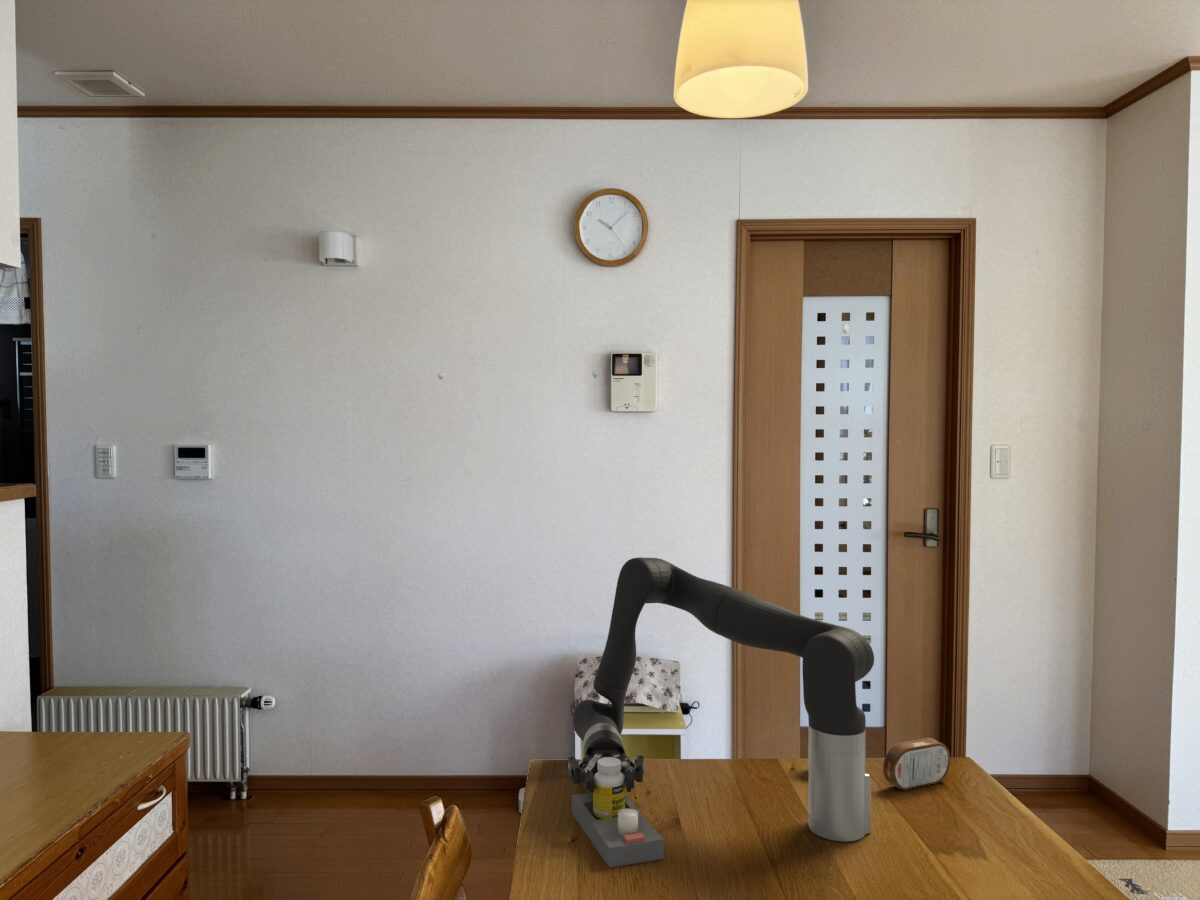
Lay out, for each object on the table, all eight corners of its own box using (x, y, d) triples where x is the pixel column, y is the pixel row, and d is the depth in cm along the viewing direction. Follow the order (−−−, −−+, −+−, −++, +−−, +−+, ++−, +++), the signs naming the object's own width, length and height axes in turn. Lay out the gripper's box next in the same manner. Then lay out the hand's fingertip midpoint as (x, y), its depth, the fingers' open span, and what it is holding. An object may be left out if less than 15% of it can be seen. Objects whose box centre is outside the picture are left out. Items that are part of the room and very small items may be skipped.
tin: (940, 776, 157) (940, 733, 157) (953, 782, 154) (953, 738, 154) (881, 788, 151) (881, 744, 151) (893, 795, 148) (893, 749, 148)
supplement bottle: (614, 829, 131) (614, 769, 131) (587, 821, 134) (586, 763, 134) (631, 816, 136) (630, 759, 136) (604, 809, 138) (603, 752, 138)
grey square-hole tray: (619, 805, 143) (619, 772, 143) (663, 858, 124) (664, 819, 124) (571, 812, 140) (571, 778, 140) (609, 867, 121) (609, 827, 121)
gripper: (565, 729, 149) (567, 764, 132) (641, 728, 149) (653, 763, 133) (565, 770, 148) (567, 810, 132) (641, 768, 149) (653, 808, 132)
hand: (610, 786), depth 132 cm, fingers open, 5 cm apart
